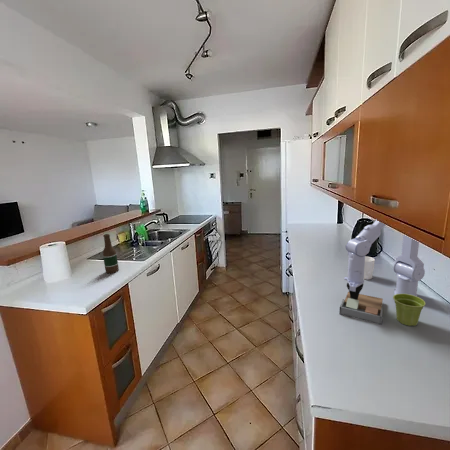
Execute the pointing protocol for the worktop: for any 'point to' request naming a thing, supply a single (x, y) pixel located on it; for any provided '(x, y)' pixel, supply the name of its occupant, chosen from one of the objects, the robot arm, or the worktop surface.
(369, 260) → the white cup
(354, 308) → the tile sage
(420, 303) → the plant pot
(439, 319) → the worktop surface
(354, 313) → the tray
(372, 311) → the tile terracotta
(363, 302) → the board
